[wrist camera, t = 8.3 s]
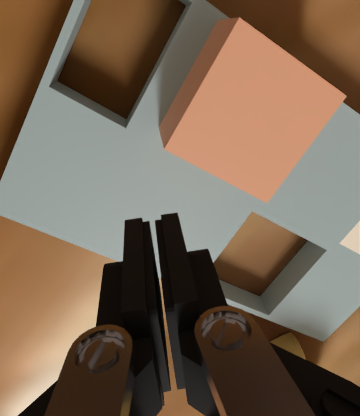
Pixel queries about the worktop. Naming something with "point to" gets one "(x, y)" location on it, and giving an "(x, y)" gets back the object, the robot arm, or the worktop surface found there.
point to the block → (247, 110)
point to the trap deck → (185, 183)
